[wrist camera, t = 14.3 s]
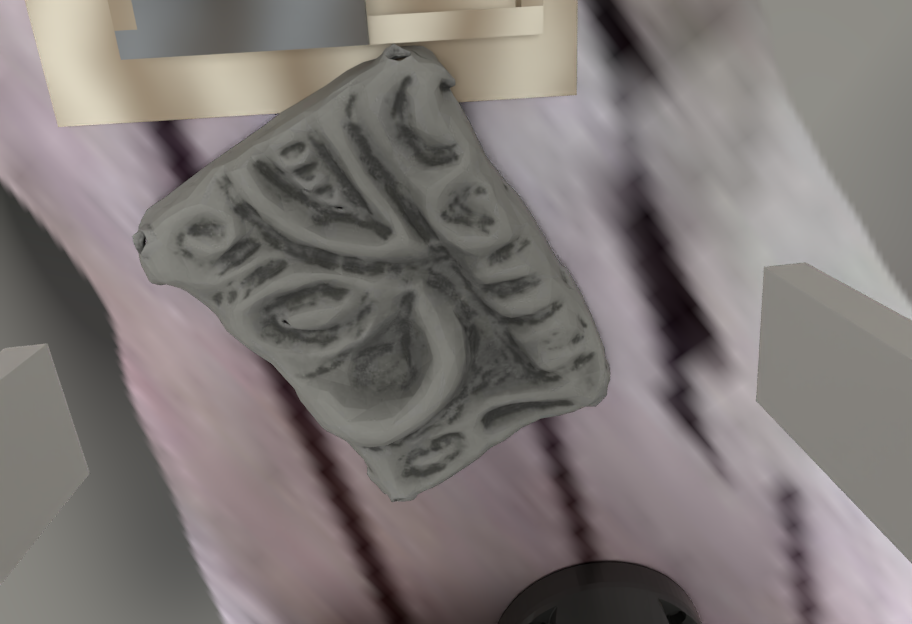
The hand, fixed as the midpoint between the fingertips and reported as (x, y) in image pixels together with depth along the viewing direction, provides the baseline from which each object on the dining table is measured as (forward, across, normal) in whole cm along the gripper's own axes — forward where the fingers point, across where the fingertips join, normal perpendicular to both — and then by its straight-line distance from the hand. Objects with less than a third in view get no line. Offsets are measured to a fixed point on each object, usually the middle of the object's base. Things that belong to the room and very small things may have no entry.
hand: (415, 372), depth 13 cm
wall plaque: (+26, +3, +8) cm, 27 cm away
